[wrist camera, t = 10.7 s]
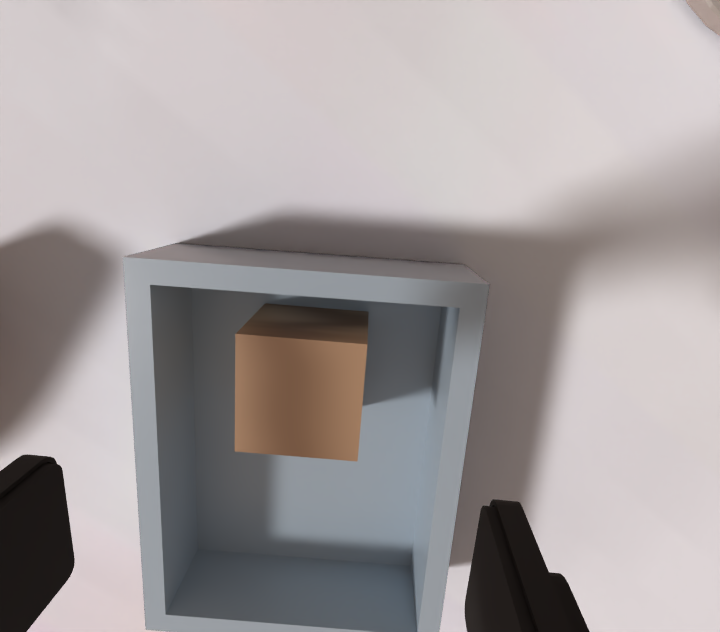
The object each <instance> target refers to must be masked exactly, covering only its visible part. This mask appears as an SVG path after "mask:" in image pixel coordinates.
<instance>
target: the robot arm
mask: <svg viewBox="0 0 720 632" xmlns="http://www.w3.org/2000/svg"><path fill="white" fill-rule="evenodd" d="M686 2H687V4H688V5H689V6H690V7H691V9H692V10H693V11H694V12H695V13H696V15H697V16H698V17H699V18H700V19H701V20H702V22H703V23H704V24H705V25H706V26H707V27H708V28H710V29H711V30H712V31H714V32H715V33H716V34H718V35H719V36H720V0H686ZM73 568H74V552H73V545H72V538H71V530H70V523H69V515H68V508H67V501H66V493H65V486H64V479H63V471H62V468H61V466H60V465H58V464H57V463H56V461H55V459H54V458H52V457H47V456H37V455H22V456H20V457H19V458H17V459H16V460H15V461H13V462H12V463H11V464H9V465H8V466H7V467H5V468H4V469H3V470H1V471H0V632H26V631H27V630H28V629H29V628H30V626H31V625H32V624H33V623H34V621H35V620H36V619H37V618H38V616H39V615H40V614H41V613H42V611H43V610H44V609H45V608H46V606H47V605H48V604H49V603H50V601H51V600H52V599H53V598H54V596H55V595H56V594H57V593H58V591H59V590H60V589H61V588H62V586H63V585H64V584H65V583H66V581H67V580H68V578H69V577H70V575H71V573H72V571H73ZM465 621H466V627H467V632H589V630H588V627H587V625H586V623H585V621H584V618H583V616H582V614H581V612H580V609H579V607H578V605H577V603H576V600H575V598H574V596H573V593H572V591H571V589H570V587H569V584H568V583H567V581H566V579H565V577H564V576H562V575H561V574H559V573H549V572H548V569H547V567H546V564H545V562H544V560H543V557H542V555H541V552H540V550H539V547H538V545H537V542H536V540H535V537H534V535H533V532H532V530H531V528H530V525H529V523H528V520H527V518H526V515H525V513H524V510H523V508H522V506H521V504H520V503H519V502H514V501H503V500H492V501H491V503H490V506H482V508H481V513H480V519H479V524H478V530H477V536H476V542H475V547H474V553H473V559H472V565H471V571H470V576H469V582H468V588H467V594H466V599H465Z"/></svg>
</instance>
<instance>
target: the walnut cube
mask: <svg viewBox="0 0 720 632" xmlns="http://www.w3.org/2000/svg"><path fill="white" fill-rule="evenodd" d="M368 316H369V312H367V311H355V310H342V309H330V308H317V307H305V306H292V305H280V304H268V303H265V304H264V305H263V306H262V307H261V308H260V309H259V310H258V311H257V312H256V313H255V314H254V315H253V316H252V317H251V318H250V319H249V320H248V321H247V322H246V323H245V325H244V326H243V327H242V328H241V329H240V330H239V331H238V332H237V333H236V334H235V452H247V453H260V454H272V455H284V456H296V457H308V458H320V459H332V460H344V461H357V462H358V451H359V439H360V427H361V415H362V404H363V392H364V380H365V368H366V356H367V344H368Z"/></svg>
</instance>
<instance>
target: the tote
mask: <svg viewBox="0 0 720 632" xmlns="http://www.w3.org/2000/svg"><path fill="white" fill-rule="evenodd" d="M123 271H124V287H125V303H126V319H127V335H128V352H129V368H130V384H131V400H132V416H133V432H134V449H135V465H136V481H137V497H138V513H139V529H140V546H141V562H142V578H143V594H144V610H145V626H146V630H156V631H169V632H439V630H440V623H441V617H442V610H443V603H444V596H445V589H446V582H447V575H448V568H449V561H450V555H451V548H452V541H453V534H454V527H455V520H456V513H457V506H458V499H459V493H460V486H461V479H462V472H463V465H464V458H465V451H466V444H467V437H468V431H469V424H470V417H471V410H472V403H473V396H474V389H475V382H476V375H477V369H478V362H479V355H480V348H481V341H482V334H483V327H484V320H485V314H486V307H487V300H488V293H489V286H490V284H489V283H487V282H486V281H485V280H484V279H482V278H481V277H480V276H479V275H477V274H476V273H475V272H473V271H472V270H471V269H470V268H468V267H467V266H466V265H464V264H451V263H437V262H424V261H410V260H397V259H384V258H370V257H357V256H343V255H330V254H316V253H303V252H289V251H276V250H262V249H249V248H235V247H222V246H208V245H195V244H181V243H175V244H171V245H167V246H163V247H159V248H156V249H152V250H148V251H144V252H140V253H136V254H132V255H128V256H124V257H123ZM265 303H268V304H280V305H292V306H305V307H317V308H330V309H342V310H355V311H367V312H369V316H368V344H367V356H366V368H365V380H364V392H363V404H362V415H361V427H360V439H359V451H358V462H357V461H344V460H332V459H320V458H308V457H296V456H284V455H272V454H260V453H247V452H235V334H236V333H237V332H238V331H239V330H240V329H241V328H242V327H243V326H244V325H245V323H246V322H247V321H248V320H249V319H250V318H251V317H252V316H253V315H254V314H255V313H256V312H257V311H258V310H259V309H260V308H261V307H262V306H263V305H264V304H265Z"/></svg>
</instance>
